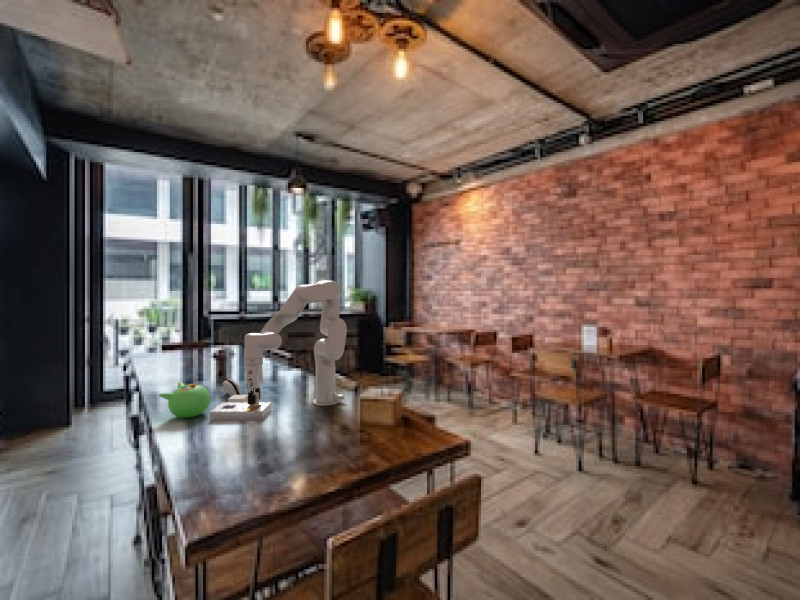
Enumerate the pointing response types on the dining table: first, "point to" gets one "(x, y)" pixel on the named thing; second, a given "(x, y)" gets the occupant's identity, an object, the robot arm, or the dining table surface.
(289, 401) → the dining table surface
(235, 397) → the beige square block
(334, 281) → the robot arm
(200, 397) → the toy bird
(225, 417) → the plate
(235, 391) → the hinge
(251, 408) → the peg
